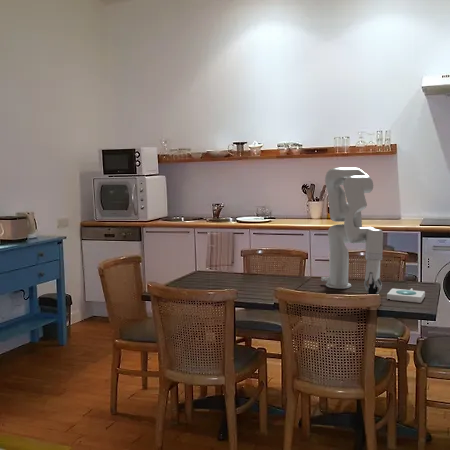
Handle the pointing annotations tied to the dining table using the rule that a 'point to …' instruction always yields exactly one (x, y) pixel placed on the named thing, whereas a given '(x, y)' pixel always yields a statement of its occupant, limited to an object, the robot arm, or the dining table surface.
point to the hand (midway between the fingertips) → (372, 295)
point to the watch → (376, 284)
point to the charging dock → (406, 295)
